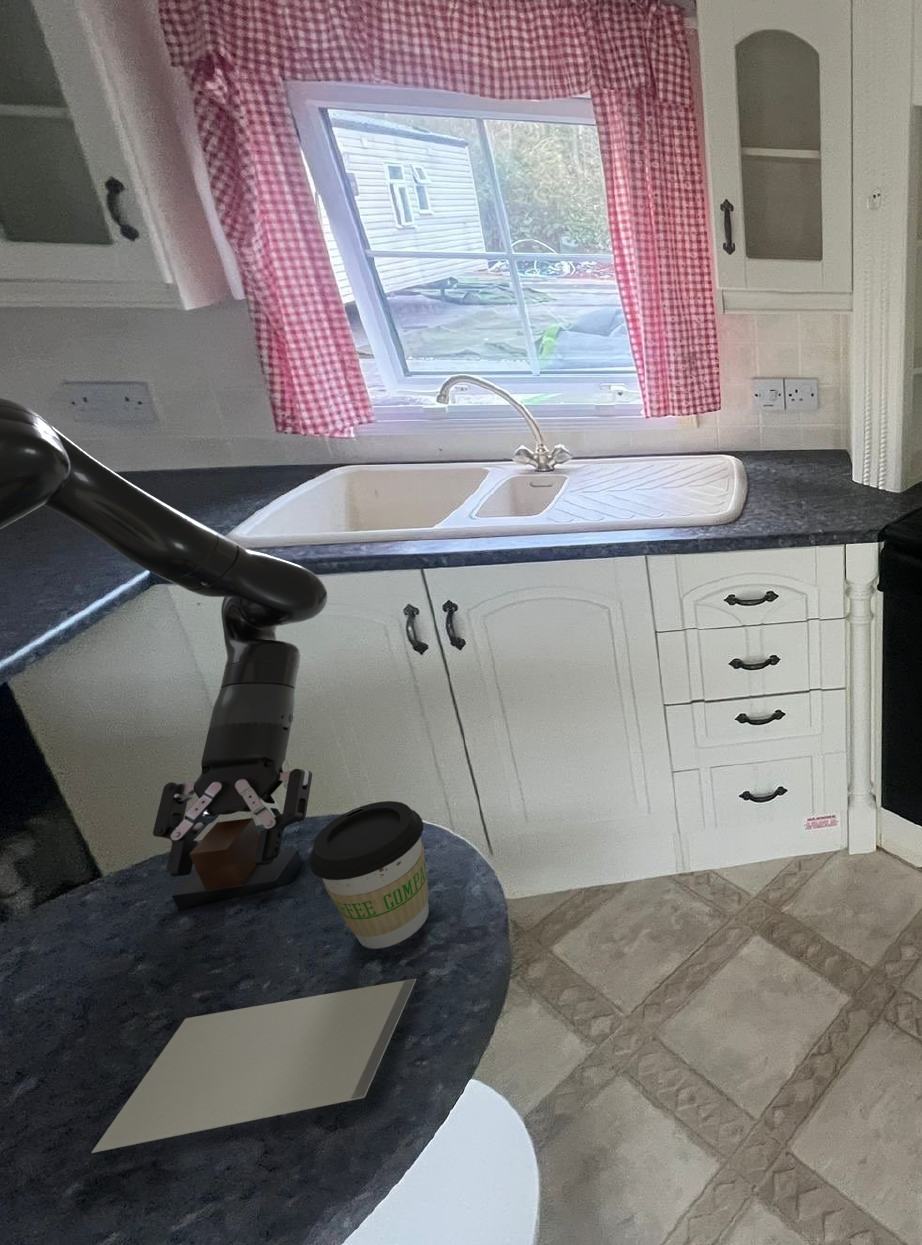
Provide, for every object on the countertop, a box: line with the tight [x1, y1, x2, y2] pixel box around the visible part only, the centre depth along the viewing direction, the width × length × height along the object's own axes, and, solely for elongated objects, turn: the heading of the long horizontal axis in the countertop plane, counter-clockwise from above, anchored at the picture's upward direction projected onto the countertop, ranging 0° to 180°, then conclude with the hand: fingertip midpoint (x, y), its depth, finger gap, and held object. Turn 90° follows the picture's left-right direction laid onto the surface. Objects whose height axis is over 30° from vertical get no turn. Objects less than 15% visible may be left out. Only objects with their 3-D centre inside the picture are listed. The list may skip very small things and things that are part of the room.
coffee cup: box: [309, 800, 430, 950], centre depth 84 cm, size 10×10×15 cm
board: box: [90, 978, 417, 1154], centre depth 73 cm, size 20×12×2 cm, turn 104°
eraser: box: [171, 817, 304, 912], centre depth 90 cm, size 10×5×8 cm, turn 104°
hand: (222, 869), depth 88 cm, fingers open, 7 cm apart
